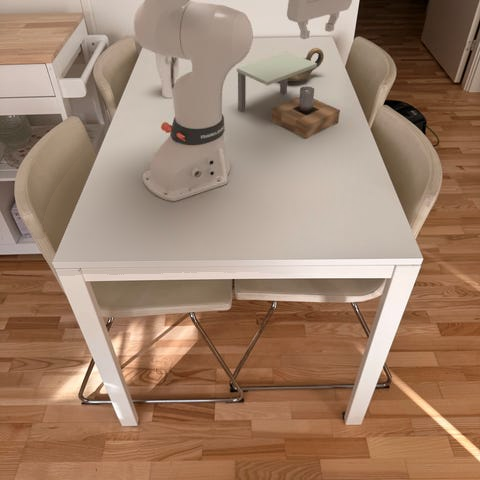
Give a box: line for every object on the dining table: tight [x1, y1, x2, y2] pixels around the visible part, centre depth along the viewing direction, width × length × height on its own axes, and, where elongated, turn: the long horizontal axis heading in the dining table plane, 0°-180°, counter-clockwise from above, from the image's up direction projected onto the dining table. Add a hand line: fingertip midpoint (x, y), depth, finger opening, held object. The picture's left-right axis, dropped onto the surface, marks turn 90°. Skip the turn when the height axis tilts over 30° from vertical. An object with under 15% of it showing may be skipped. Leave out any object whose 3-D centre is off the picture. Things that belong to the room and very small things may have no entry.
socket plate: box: [270, 96, 341, 139], centre depth 134 cm, size 14×14×4 cm
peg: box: [298, 85, 315, 115], centre depth 132 cm, size 4×4×10 cm
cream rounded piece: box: [155, 53, 180, 99], centre depth 144 cm, size 7×7×15 cm
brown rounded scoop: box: [287, 47, 325, 82], centre depth 155 cm, size 14×18×10 cm
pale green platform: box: [236, 51, 318, 113], centre depth 138 cm, size 20×13×13 cm, turn 131°
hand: (317, 34), depth 115 cm, fingers open, 8 cm apart
